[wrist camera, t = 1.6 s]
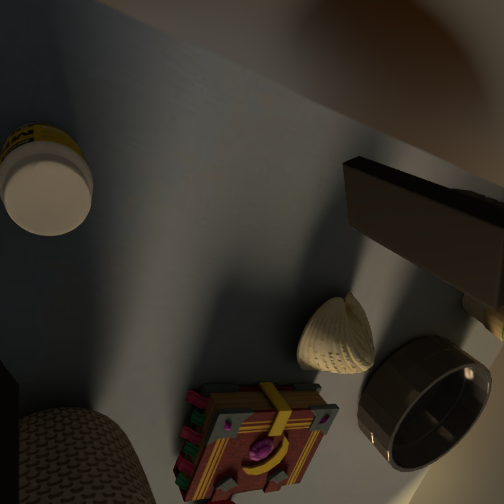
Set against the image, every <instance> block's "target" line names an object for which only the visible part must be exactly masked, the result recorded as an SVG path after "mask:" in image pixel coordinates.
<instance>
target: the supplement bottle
mask: <svg viewBox="0 0 504 504" xmlns="http://www.w3.org/2000/svg"><path fill="white" fill-rule="evenodd" d="M92 193H93V178H92V174H91V171H90V169H89V167H88V165H87V162H86V160H85V158H84V156H83V154H82V152H81V150H80V148H79V146H78V144H77V142H76V141H75V140H74V139H73V137H72V136H71V135H70V134H69V133H67V132H66V131H65V130H63V129H61V128H60V127H57V126H55V125H52V124H48V123H41V122H36V123H29V124H25V125H22V126H20V127H18V128H17V129H15V130H14V131H13V132H12V133H10V135H9V136H8V137H7V139H6V140H5V142H4V145H3V148H2V152H1V157H0V197H1V200H2V202H3V203H4V205H5V208H6V210H7V212H8V214H9V216H10V217H11V218H12V220H13V221H14V222H15V223H16V224H17V225H19V226H20V227H21V228H23V229H25V230H26V231H29V232H31V233H34V234H38V235H44V236H55V235H61V234H64V233H67V232H69V231H71V230H73V229H75V228H76V227H78V226H79V225H80V224H81V223H82V222H83V221H84V220H85V218H86V216H87V215H88V213H89V210H90V207H91V197H92Z"/></svg>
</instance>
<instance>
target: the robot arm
mask: <svg viewBox="0 0 504 504" xmlns="http://www.w3.org/2000/svg"><path fill="white" fill-rule="evenodd" d="M343 172H344V181H345V190H346V199H347V208H348V218H349V226H350V227H352V228H353V229H355V230H357V231H358V232H360V233H362V234H364V235H365V236H367V237H369V238H370V239H372V240H374V241H376V242H377V243H379V244H381V245H382V246H384V247H386V248H388V249H389V250H391V251H393V252H394V253H396V254H398V255H400V256H401V257H403V258H405V259H406V260H408V261H410V262H412V263H413V264H415V265H417V266H418V267H420V268H422V269H424V270H425V271H427V272H429V273H430V274H432V275H434V276H436V277H437V278H439V279H441V280H442V281H444V282H446V283H448V284H449V285H451V286H453V287H454V288H456V289H458V290H460V291H461V292H463V293H465V294H466V295H468V296H470V297H472V298H473V299H475V300H477V301H478V302H480V303H482V304H484V305H485V306H487V307H489V308H490V309H492V310H494V311H497V310H499V309H501V308H502V307H504V202H501V201H500V202H498V200H495V199H493V198H490V197H487V198H486V197H485V196H484V195H481V194H478V193H475V192H473V191H468V190H461V189H453V188H452V189H450V188H447V187H444V186H441V185H439V184H436V183H433V182H430V181H427V180H425V179H422V178H419V177H416V176H414V175H411V174H408V173H405V172H402V171H400V170H397V169H394V168H391V167H389V166H386V165H383V164H380V163H378V162H375V161H372V160H369V159H366V158H364V157H361V156H358V157H355V158H353V159H351V160H348V161H346V162H344V163H343ZM0 504H19V384H18V383H17V381H16V380H15V379H14V378H13V376H12V375H11V374H10V372H9V371H8V370H7V369H6V367H5V366H4V365H3V363H2V362H1V361H0Z"/></svg>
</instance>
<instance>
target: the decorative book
mask: <svg viewBox="0 0 504 504" xmlns="http://www.w3.org/2000/svg"><path fill="white" fill-rule="evenodd" d="M321 388H322V387H321V386H320V385H319V384H293V386H274V385H273V383H272V382H260V383H259V385H258V386H245V387H238V385H237V384H204V385H203V387H202V390H201V393H200V395H199V394H198V393H196V392H193V391H191V390H189V392H188V394H187V397H186V400H185V401H187V402H189V403H192V404H194V405H195V409H194V411H193V414H192V416H191V419H190V421H192V423H191V425H190V428H188V427H186V426H184V427H183V429H182V432H181V435H180V437H183V438H185V441H184V443H183V446H182V448H181V451H180V453H179V456H178V458H177V461H176V464H175V466H174V469H173V472H174V474H175V477H176V481H175V483H176V484H177V485H178V486H179V489H180V492H181V494H182V497H183V500H184V502H187V501H193V500H199V499H205V498H210V500H211V502H215V501H220V500H226V499H229V497H230V495H231V494H235V493H241V492H247V491H253V490H259V489H263V491H264V493H267V492H273V491H279V490H280V488H281V486H284V485H290V484H296V483H300V481H301V479H302V477H303V475H304V473H305V471H306V469H307V467H308V465H309V463H310V461H311V459H312V457H313V455H314V453H315V451H316V449H317V447H318V445H319V443H320V441H321V439H322V437H323V435H326V434H327V432H328V430H329V428H330V426H331V424H332V422H333V420H334V418H335V416H336V414H337V412H338V410H339V407H338V406H337V405H336V404H327V403H326V402H325V401H324V400H323V398H322V397H321V396H320V395H319V392H320V390H321Z"/></svg>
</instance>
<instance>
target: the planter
mask: <svg viewBox="0 0 504 504" xmlns="http://www.w3.org/2000/svg"><path fill="white" fill-rule="evenodd" d="M19 504H156V501H155V499H154V496H153V493H152V491H151V488H150V485H149V483H148V480H147V477H146V475H145V472H144V470H143V468H142V465H141V463H140V461H139V458H138V456H137V454H136V452H135V450H134V448H133V446H132V444H131V442H130V440H129V439H128V437H127V435H126V434H125V433H124V431H123V430H122V429H121V428H120V427H119V425H118V424H117V423H115V422H114V421H113V420H111V419H110V418H109V417H107V416H105V415H103V414H101V413H99V412H96V411H93V410H89V409H85V408H77V407H62V408H51V409H46V410H42V411H39V412H36V413H33V414H30V415H27V416H25V417H23V418H21V419H19Z"/></svg>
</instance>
